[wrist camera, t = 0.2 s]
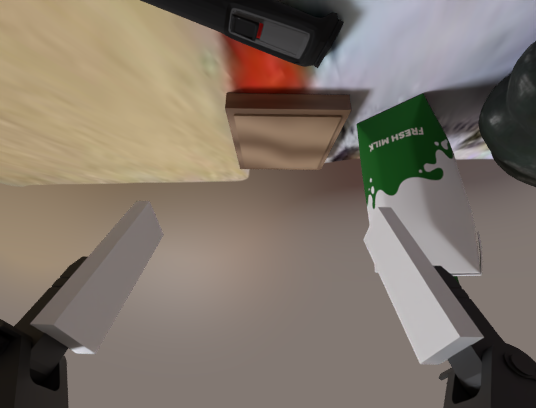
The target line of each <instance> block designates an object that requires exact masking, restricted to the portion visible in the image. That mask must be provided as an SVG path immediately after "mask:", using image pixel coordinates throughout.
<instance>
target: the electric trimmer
mask: <svg viewBox="0 0 536 408" xmlns="http://www.w3.org/2000/svg"><path fill="white" fill-rule="evenodd" d="M141 1H143V2H146V3H148V4H151V5H153V6H156V7H158V8H161V9H163V10H166V11H169V12H171V13H174V14H176V15H179V16H181V17H184V18H186V19H189V20H191V21H194V22H196V23H199V24H201V25H204V26H206V27H209V28H211V29H214V30H216V31H219V32H221V33H223V34H225V35H226V36H228V37H230V38H232V39H234V40H237V41H239V42H241V43H243V44H246V45H248V46H251V47H253V48H256V49H258V50H261V51H263V52H266V53H268V54H271V55H273V56H276V57H278V58H281V59H283V60H286V61H288V62H291V63H294V64H297V65H301V66H304V67H306V66H311V65H314V66H315V67H317V68H318V67H319V65H320V63H321V62H322V60H323V58H324V57H325V55H326V53H327V52H328V50H329V49H330V47H331V45H332V44H333V42H334V40H335V39H336V37H337V35H338V34H339V32H340V30H341V28H342V25H343V23H344V22H343V21H341V20H338V15H337V13H331V14H329V15H327V16H325V17H321V18H318V17H314V16H312V15H309V14H307V13H305V12H302V11H300V10H297V9H295V8H293V7H290V6H288V5H285V4H283V3H281V2H278V1H276V0H141ZM322 49H323V50H322Z"/></svg>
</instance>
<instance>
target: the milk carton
mask: <svg viewBox="0 0 536 408" xmlns="http://www.w3.org/2000/svg"><path fill="white" fill-rule="evenodd" d="M357 131H358V140H359V150H360V159H361V167H362V175H363V182H364V189H365V196H366V203H367V210H368V216H369V222H370V224H371V221H372V219H373V217H374V215H375V212H376V210H377V208H378V207H391V208H392V209H393V211H394V212H395V213H396V215H397V216H398V218H399V219H400V220H401V222H402V223H403V225H404V226H405V227H406V229H407V230H408V232H409V233H410V234H411V236H412V237H413V239H414V240H415V241H416V243H417V244H418V246H419V247H420V248H421V250H422V251H423V253H424V254H425V255H426V257H427V258H428V259H429V261H430V262H431V264H432V265H433V266H442V267H443V268H444V269H445V270H447V271H448V272H449V273H450V274H451V275H453V277H454V278H455V279H456V280H457V282H458V283H459V281H458V278H457V276H481V275H482V248H481V240H480V235H479V232H477V234H478V239H479V248H480V264H479V256H478V246H477V241H476V233H475V225H474V220H473V215H472V211H471V208H470V205H469V201H468V198H467V195H466V192H465V189H464V185H463V183H462V179H461V176H460V173H459V170H458V166H457V163H456V160H455V157H454V154H453V151H452V148H451V146H450V143H449V141H448V139H447V136H446V134H445V133H444V131H443V129H442V127H441V125H440V123H439V122H438V120H437V118H436V116H435V115H434V113H433V111H432V109H431V107H430V105H429V104H428V102H427V100H426V98H425V96H424V94H421V95H419V96H417V97H414V98H412V99H410V100H408V101H406V102H404V103H401V104H399V105H397V106H395V107H393V108H391V109H388V110H386V111H384V112H382V113H380V114H378V115H376V116H373V117H371V118H369V119H367V120H365V121H363V122H360V123H358V124H357ZM375 272H376V273H378V271H377V268H376V266H375ZM479 273H480V274H479Z"/></svg>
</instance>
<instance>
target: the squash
mask: <svg viewBox="0 0 536 408" xmlns="http://www.w3.org/2000/svg"><path fill="white" fill-rule="evenodd" d="M479 129H480V133H481V136H482V138H483V140H484V141H485V143H486V144H487V146H488V148H489V149H490V151H491V154H492V156H493V158H494V160H495V161H496V163H497V164H498V165H499V166H500V167H501V168H502V169H503V170H504V171H505V172H506V173H507V174H509V175H510V176H512V177H514V178H515V179H517V180H519V181H522V182H524V183H526V184H529V185H531V186H534V187H536V41H535V42H534V43H532V44H531V45H530V46H529V47H528V48H527V50H526V51H525V52H524V53H523V54H522V56H521V57H520V58H519V59H518V61H517V62H516V64H515V66H514V68H513V71H512V74H510V75H509V76H507V77H506V78H504V79H503V80H502V81H501V82H500V83H499V84H498V85H497V86H496V87H495V88H494V89H493V91H492V92H491V93H490V95H489V96H488V98H487V100H486V101H485V103H484V105H483V108H482V110H481V114H480V117H479Z"/></svg>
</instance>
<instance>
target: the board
mask: <svg viewBox="0 0 536 408" xmlns="http://www.w3.org/2000/svg"><path fill="white" fill-rule="evenodd" d="M225 110H226V114H227V118H228V122H229V126H230V129H231V133H232V137H233V141H234V145H235V149H236V153H237V157H238V161H239V165H240V169H293V170H321V168H322V166H323V164H324V162H325V160H326V158H327V156H328V154H329V152H330V151H331V149H332V147H333V145H334V143H335V141H336V139H337V137H338V135H339V133H340V131H341V129H342V127H343V126H344V124H345V122H346V120H347V118H348V116H349V114H350V112H351V103H350V96H349V95H321V94H251V93H227V95H226V105H225Z"/></svg>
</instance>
